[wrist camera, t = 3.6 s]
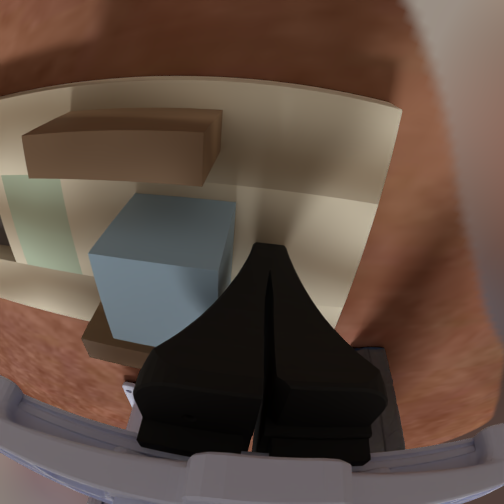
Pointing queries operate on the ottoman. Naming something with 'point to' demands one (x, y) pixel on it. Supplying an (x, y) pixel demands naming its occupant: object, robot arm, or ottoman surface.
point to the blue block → (163, 264)
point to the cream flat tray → (186, 180)
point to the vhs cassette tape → (388, 423)
